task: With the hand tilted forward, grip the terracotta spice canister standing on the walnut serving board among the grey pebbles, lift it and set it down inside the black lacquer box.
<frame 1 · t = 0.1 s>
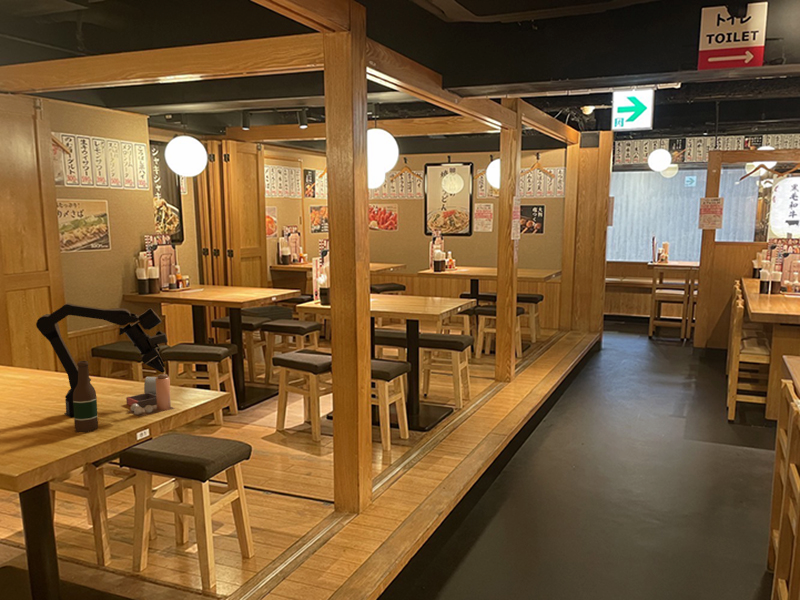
hand: (163, 369, 243), 15 cm above the table, tool tilted 35°, fingers open, 9 cm apart
canister: (163, 408, 239), point 1 cm above the table, touching board
pebble a: (135, 407, 235), point 2 cm above the table, touching board
pebble c: (138, 410, 232), point 2 cm above the table, touching board
ceramic mug: (155, 394, 263), on the table
pebble b: (148, 409, 234), point 2 cm above the table, touching board
beer bottle: (86, 430, 217), on the table
board: (151, 411, 238), on the table
lacquer box: (143, 405, 245), on the table
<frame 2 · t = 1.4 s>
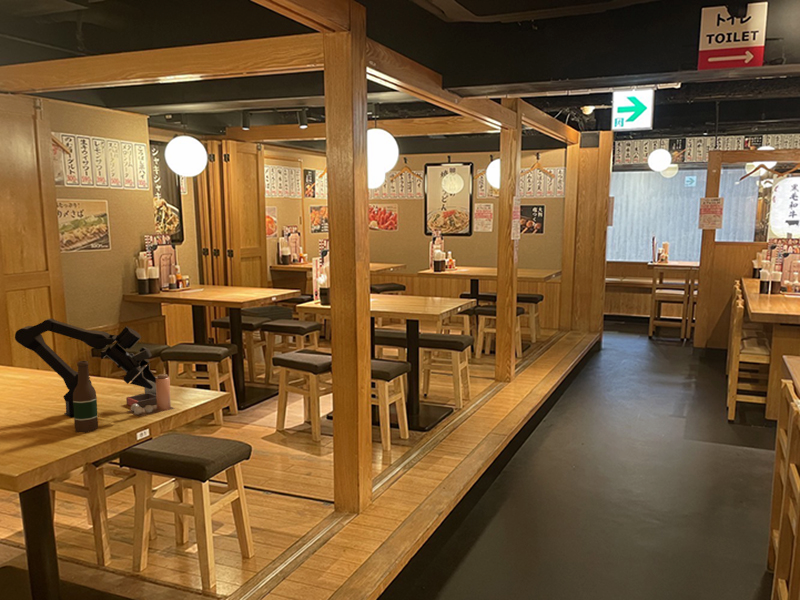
hand: (154, 384, 238), 10 cm above the table, tool tilted 45°, fingers open, 9 cm apart
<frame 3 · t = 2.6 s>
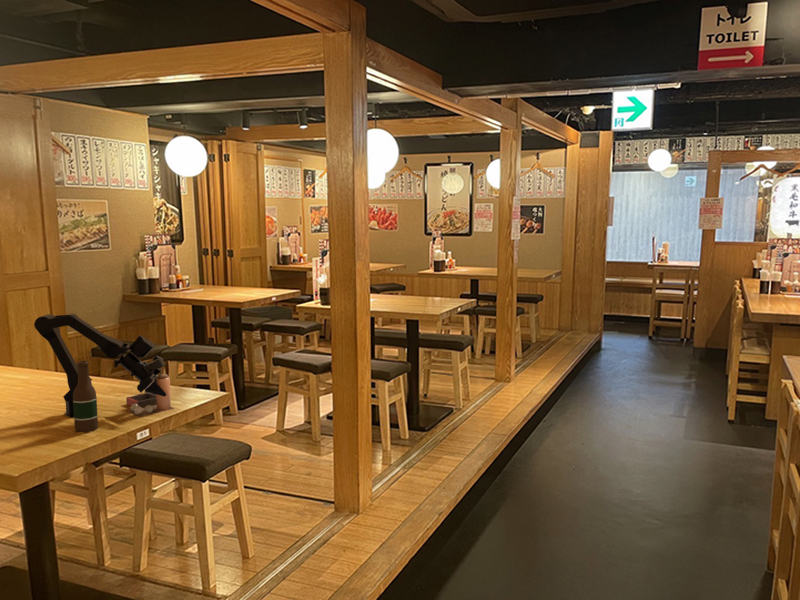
hand: (167, 393, 239), 7 cm above the table, tool tilted 45°, fingers closed on canister, 5 cm apart
canister: (163, 408, 239), point 1 cm above the table, touching board, gripper
everything else where it was.
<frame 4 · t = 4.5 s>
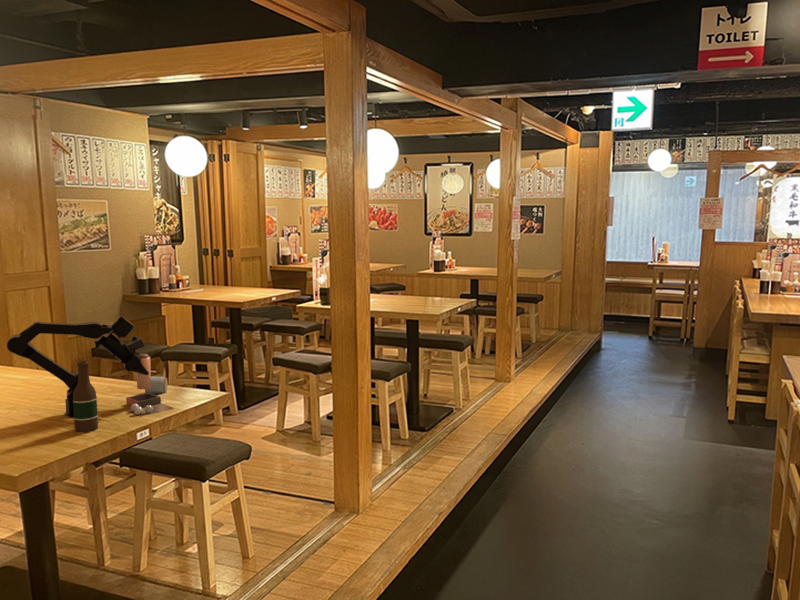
hand: (147, 372, 244), 13 cm above the table, tool tilted 45°, fingers closed on canister, 5 cm apart
canister: (143, 387, 244), point 7 cm above the table, touching gripper
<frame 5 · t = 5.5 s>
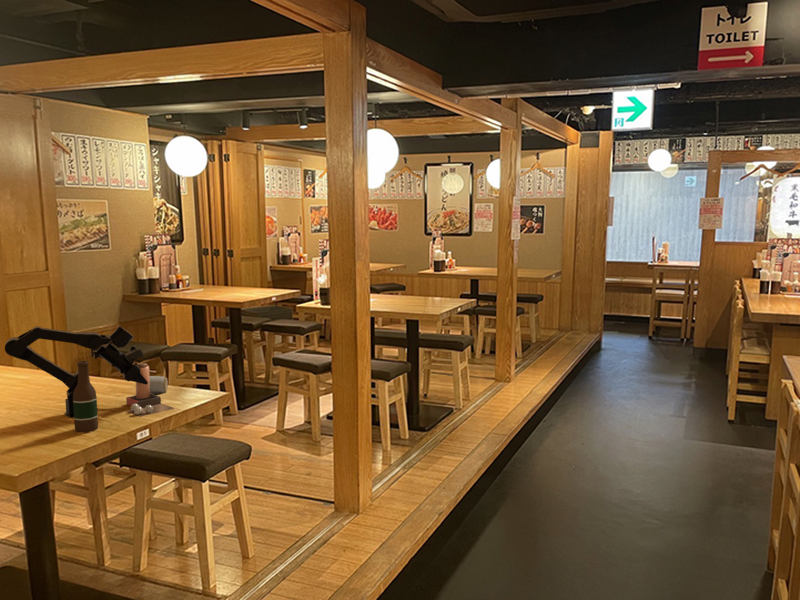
hand: (146, 382, 245), 9 cm above the table, tool tilted 45°, fingers closed on canister, 5 cm apart
canister: (143, 396, 245), point 4 cm above the table, touching gripper
when the fingers open (7 cm above the table, at t = 6.4 s): canister drops 1 cm, resting on lacquer box.
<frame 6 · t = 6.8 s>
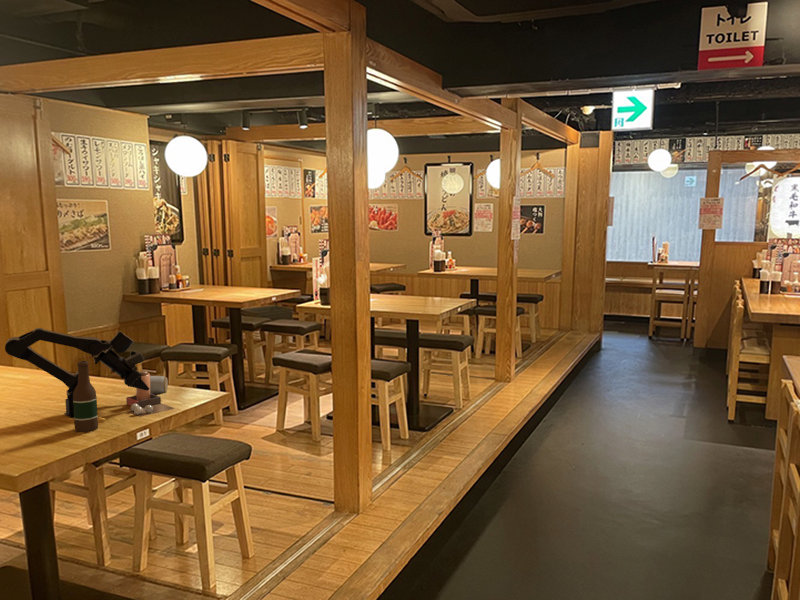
hand: (146, 386, 245), 7 cm above the table, tool tilted 45°, fingers open, 9 cm apart
canister: (143, 404, 245), point 1 cm above the table, touching lacquer box
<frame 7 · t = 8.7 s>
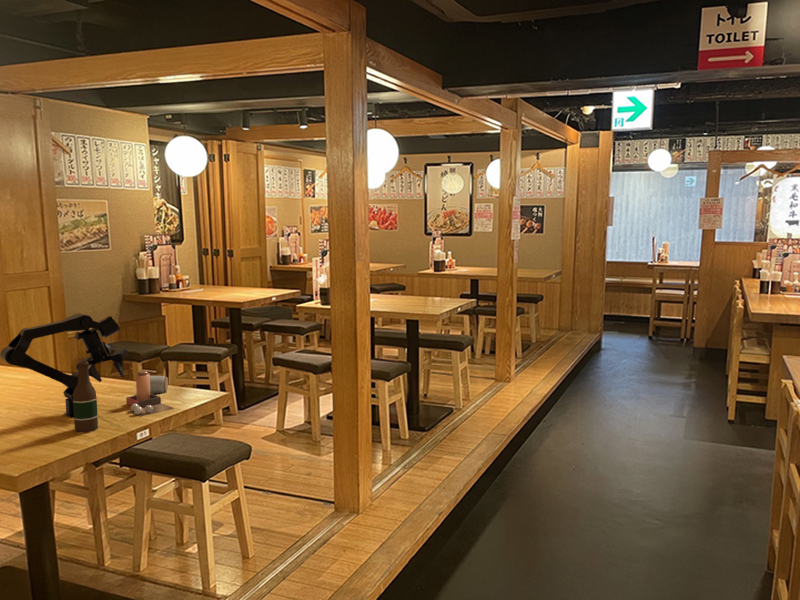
hand: (111, 378, 242), 11 cm above the table, tool tilted 25°, fingers open, 9 cm apart
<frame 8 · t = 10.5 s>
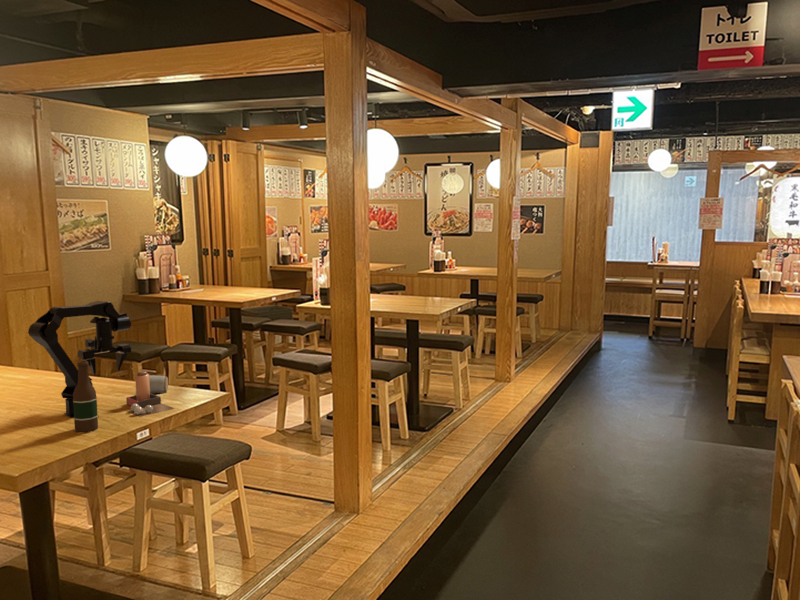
hand: (106, 372, 244), 13 cm above the table, tool pointing down, fingers open, 9 cm apart
at the end: canister 0.0 cm off-centre on the lacquer box, point 0.5 cm above the lacquer box's base; canister tilted 1°; the gripper is holding nothing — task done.
